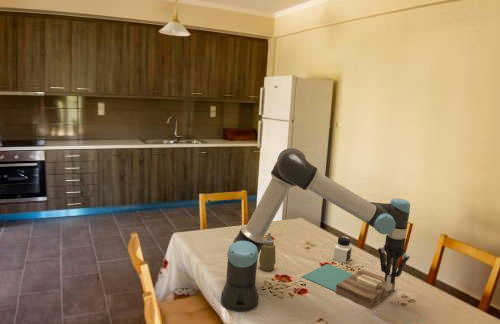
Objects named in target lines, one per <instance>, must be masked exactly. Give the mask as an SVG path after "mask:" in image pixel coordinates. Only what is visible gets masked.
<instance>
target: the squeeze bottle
mask: <svg viewBox="0 0 500 324" xmlns="http://www.w3.org/2000/svg"><path fill="white" fill-rule="evenodd" d="M274 242H275V240H274V239H272V233H271V232H268V233H267V236H266V238H265V243H264V245H263V247H262V248H261V250H260V252H259V257H258V259H259V261H258V262H259V266H260V269H261V270H263V271H266V272H267V271H268V272H269V271H273V269H274V267H275V265H276V262H277V260H276V256H277V255H276V245H275V244H274Z"/></svg>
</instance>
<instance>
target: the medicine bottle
mask: <svg viewBox="0 0 500 324" xmlns="http://www.w3.org/2000/svg"><path fill="white" fill-rule="evenodd" d="M350 242H351V240H350V238H349V237H347V236H339V237H338V239H337V244H336V245H335V246H334V247H333V258H332V259H333V261H336V260H337V262H341V263H343V262H344V263H343V264H347V263H348V262H349V261H350V260H351V255H352V246H351V245H350ZM349 259H350V260H349Z"/></svg>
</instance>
